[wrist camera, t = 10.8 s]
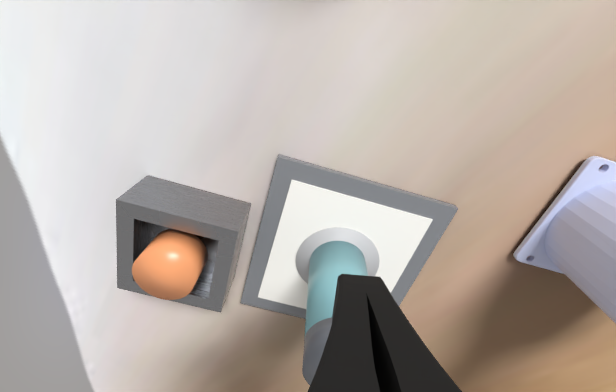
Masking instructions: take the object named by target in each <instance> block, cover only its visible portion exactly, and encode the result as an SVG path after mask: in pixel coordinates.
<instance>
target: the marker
mask: <svg viewBox="0 0 616 392" xmlns="http://www.w3.org/2000/svg"><path fill="white" fill-rule="evenodd" d="M341 274H351V275H364V276H368V272H367V267H366V262H365V257H364V255H363V253H362V251H361V250H360V249H359V248H358V247H357V246H355V245H353V244H351V243H349V242H345V241H330V242H326V243H324V244H322V245H320V246H319V247H317V248H316V249H315V250H314V251H313V253H312V255H311V257H310V262H309V277H308V293H307V308H306V323H305V339H304V354H303V376H304V378H305V380H306V381H307V383H308V384H309V385H311V383H312V380H313V378H314V375H315V373H316V370H317V367H318V365H319V362H320V359H321V357H322V354H323V351H324V348H325V344H326V341H327V338H328V335H329V332H330V329H331V325H332V314H333V307H334V300H335V293H336V286H337V280H338V276H339V275H341Z"/></svg>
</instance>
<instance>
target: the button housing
mask: <svg viewBox="0 0 616 392" xmlns="http://www.w3.org/2000/svg"><path fill="white" fill-rule="evenodd" d="M250 206H251V203H247V202H244V201H240V200H236V199H233V198H229V197H225V196H222V195H218V194H214V193H210V192H207V191H203V190H199V189H196V188H192V187H188V186H185V185H181V184H177V183H174V182H170V181H166V180H163V179H159V178H155V177H152V176H146V177H145V178H144V179H142V180H141V181H140V182H138V183H137V184H136V185H134V186H133V187H132V188H131V189H129V190H128V191H127V192H125V193H124V194H123V195H121V196H120V197H119V198H118V199H116V228H117V288H120V289H124V290H128V291H133V292H137V293H141V294H145V295H149V296H152V295H150V294H148V293H147V292H145V291H144V290H143V289H142V288H140V287H139V285H138V284H137V283H136V282H135V280H134V278H133V275H132V266H133V263H134V261H135V260H136V259H137V258H138V257H139V255H140V254H141V253H142V252H143V251H144V250H145V248H146V247H147V246H148V245H149V244H150V243H151V241H152V240H153V239H154V238H155V237H156V236H157V235H158V234H159V233H160V232H162V231H164V230H167V229H176V230H179V231H183V232H187V233H191V234H194V235H195V236H197V237H198V238H199V239H200V240H201V241H202V242H203V243H204V245H205V247H206V249H207V252H208V260H207V262H206V264H205V266H204V268H203V270H202V272H201V274H200V276H199V278H198V280H197V281H196V283H195V285H194V287H193V289H192V291H191V292H190V293H189V294H188V295H187V296H185V297H183V298H181V299H177V300H170V301H175V302H179V303H183V304H187V305H191V306H196V307H200V308H204V309H208V310H213V311H217V312H221V311H222V308H223V305H224V303H225V300H226V297H227V295H228V292H229V290H230V287H231V284H232V282H233V279H234V275H235V271H236V267H237V262H238V258H239V254H240V249H241V245H242V240H243V236H244V232H245V227H246V223H247V219H248V214H249V210H250Z"/></svg>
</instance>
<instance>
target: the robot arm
mask: <svg viewBox="0 0 616 392" xmlns="http://www.w3.org/2000/svg"><path fill="white" fill-rule="evenodd" d="M602 165H603V167H602V168H601V169H599V168H600V167H601V166H602ZM513 256H514V258H515V259H516V260H517V261H519V262H522V263H526V264H529V265H533V266H537V267H540V268H544V269H548V270H551V271H555V272H558V273H562V274H565V275H566V276H567V277H568V278H569V279H570V280H571V281H572V282H573V283H575V284H576V285H577V286H578V287H579V288H580V289H581V290H582V291H583V292H584V293H585V294H586V295H587V296H588V297H589V298H590V299H591V300H592V301H593V302H594V303H595V304H596V305H597V306H598V307H599V308H600V309H601V310H602V311H603V312H604V313H605V314H606V315H607V316H608V317H609V318H610V319H612V320H613V321H614V322H615V323H616V162H614V161H611V160H608V159H605V158H602V157H599V156H592V157H589V158H588V159H586V160H585V161H584V162H583V164H582V165H581V166H580V168H579V169H578V170H577V172H576V173H575V174H574V175H573V177H572V178H571V179H570V181H569V182H568V183H567V184H566V186H565V187H564V188H563V190H562V191H561V192H560V193H559V195H558V196H557V197H556V199H555V200H554V201H553V203H552V204H551V205H550V206H549V208H548V209H547V210H546V212H545V213H544V214H543V215H542V217H541V218H540V219H539V221H538V222H537V223H536V225H535V226H534V227H533V228H532V230H531V231H530V232H529V234H528V235H527V236H526V237H525V239H524V240H523V241H522V243H521V244H520V245H519V247H518V248H517V249H516V250H515V252H514V254H513ZM528 256H530V257H528ZM527 257H528V258H527ZM308 392H462V391H461V390H460V389H459V388H458V386H457V385H456V384H455V383H454V382H453V380H452V379H451V378H450V377H449V375H448V374H447V373H446V372H445V370H444V369H443V368H442V367H441V365H440V364H439V363H438V361H437V360H436V359H435V357H434V356H433V355H432V354H431V352H430V351H429V350H428V348H427V347H426V345H425V344H424V343H423V341H422V340H421V339H420V337H419V336H418V334H417V333H416V331H415V330H414V328H413V327H412V326H411V324H410V323H409V321H408V320H407V318H406V317H405V315H404V314H403V312H402V311H401V309H400V307H399V306H398V304H397V303H396V301H395V300H394V298H393V296H392V295H391V293H390V291H389V290H388V288H387V286H386V285H385V283H384V281H383V280H382V279H381V277H377V276H364V275H351V274H341V275H339V276H338V280H337V286H336V293H335V300H334V307H333V314H332V325H331V329H330V332H329V335H328V338H327V341H326V344H325V348H324V351H323V354H322V357H321V359H320V362H319V365H318V367H317V370H316V373H315V375H314V378H313V380H312V383H311V385H310V387H309V390H308Z"/></svg>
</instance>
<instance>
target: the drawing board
mask: <svg viewBox="0 0 616 392" xmlns="http://www.w3.org/2000/svg"><path fill="white" fill-rule="evenodd" d="M457 210H458V208H457V207H456V206H455V205H453V204H449V203H446V202H442V201H439V200H435V199H432V198H429V197H425V196H422V195H418V194H415V193H411V192H408V191H404V190H401V189H397V188H394V187H391V186H387V185H384V184H380V183H377V182H373V181H370V180H366V179H363V178H359V177H356V176H352V175H349V174H346V173H342V172H339V171H335V170H332V169H328V168H325V167H321V166H318V165H314V164H311V163H307V162H304V161H301V160H297V159H294V158H290V157H287V156H283V155H280V154H279V155H278V158H277V162H276V166H275V170H274V174H273V178H272V181H271V185H270V189H269V193H268V197H267V201H266V205H265V209H264V213H263V217H262V221H261V224H260V228H259V232H258V236H257V240H256V244H255V248H254V252H253V256H252V260H251V264H250V267H249V271H248V275H247V279H246V283H245V287H244V291H243V295H242V299H241V303H242V304H246V305H250V306H254V307H259V308H263V309H267V310H271V311H275V312H279V313H283V314H288V315H292V316H296V317H300V318H304V319H306V308H307V293H308V277H309V262H310V257H311V255H312V253H313V251H314V250H315V249H316V248H317V247H319V246H320V245H322V244H324V243H326V242H330V241H345V242H349V243H351V244H353V245H355V246H357V247H358V248H359V249H360V250H361V251H362V253H363V255H364V257H365V262H366V267H367V272H368V276H377V277H381V279H382V280H383V281H384V283H385V285H386V286H387V288H388V290H389V291H390V293H391V295H392V296H393V298H394V300H395V301H396V303H397V304H398V306H399V305H400V304H401V302H402V300H403V299H404V297H405V295H406V294H407V292H408V290H409V289H410V287H411V285H412V284H413V282H414V281H415V279H416V277H417V276H418V274H419V272H420V271H421V269H422V267H423V266H424V264H425V263H426V261H427V259H428V258H429V256H430V254H431V253H432V251H433V249H434V248H435V246H436V244H437V243H438V241H439V240H440V238H441V236H442V235H443V233H444V231H445V230H446V228H447V226H448V225H449V223H450V222H451V220H452V218H453V217H454V215H455V213H456V212H457Z"/></svg>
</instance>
